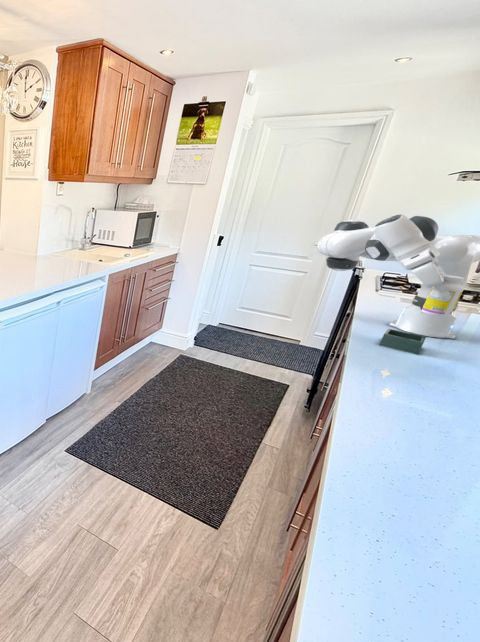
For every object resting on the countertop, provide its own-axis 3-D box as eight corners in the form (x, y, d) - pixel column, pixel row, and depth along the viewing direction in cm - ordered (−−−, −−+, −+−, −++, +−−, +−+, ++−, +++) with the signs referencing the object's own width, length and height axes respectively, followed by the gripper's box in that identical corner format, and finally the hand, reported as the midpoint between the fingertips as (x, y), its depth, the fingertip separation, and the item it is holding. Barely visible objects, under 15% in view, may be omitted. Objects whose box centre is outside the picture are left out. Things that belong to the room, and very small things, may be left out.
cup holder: (383, 339, 155) (388, 328, 153) (420, 347, 148) (426, 336, 146) (379, 345, 149) (384, 333, 147) (417, 354, 142) (423, 342, 140)
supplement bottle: (435, 312, 136) (454, 274, 131) (455, 318, 130) (476, 279, 125) (414, 310, 136) (432, 273, 131) (433, 317, 130) (453, 278, 125)
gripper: (409, 260, 141) (436, 293, 138) (403, 266, 129) (432, 303, 126) (434, 249, 137) (462, 284, 133) (429, 255, 124) (461, 293, 121)
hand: (448, 293), depth 130 cm, fingers closed on supplement bottle, 6 cm apart
